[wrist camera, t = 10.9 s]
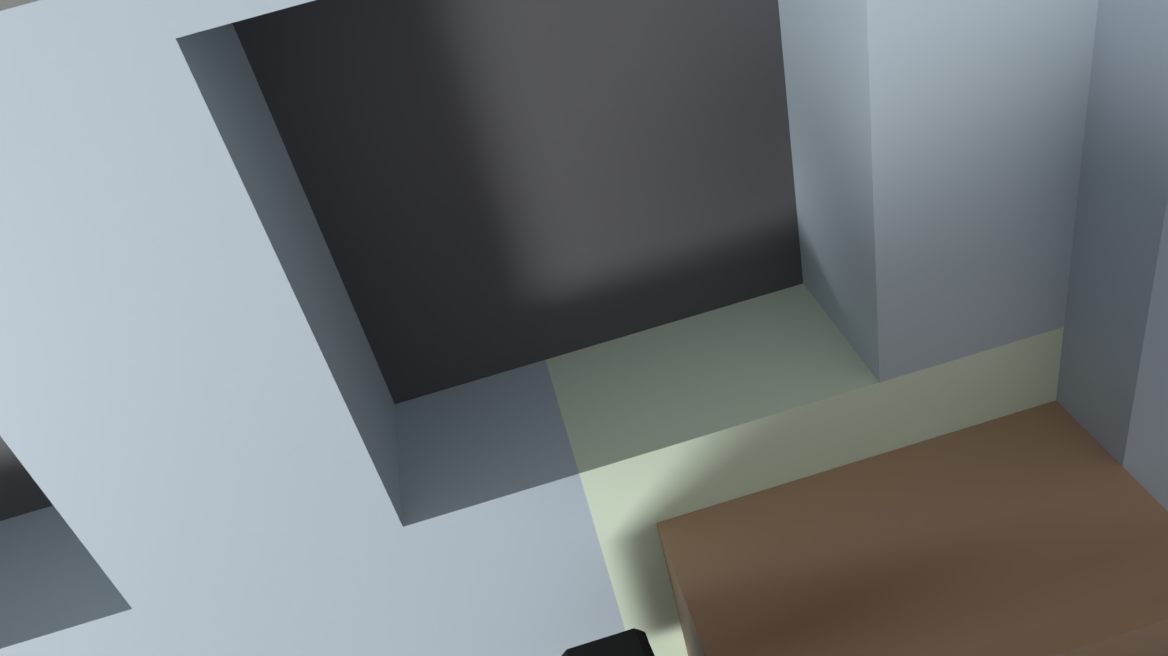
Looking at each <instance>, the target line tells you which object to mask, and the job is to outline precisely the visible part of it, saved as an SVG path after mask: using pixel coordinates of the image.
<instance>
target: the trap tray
mask: <svg viewBox="0 0 1168 656" xmlns="http://www.w3.org/2000/svg"><path fill="white" fill-rule="evenodd" d="M1055 400H1056V401H1057V402H1058V403H1059V404H1060V405H1061V406H1062V407H1063V408H1064V409H1065V410H1066V411H1067V412H1068V413H1069V414H1070V415H1071V416H1072V417H1073V418H1074V419H1075V420H1076V421H1077V422H1078V423H1079V424H1080V425H1081V426H1082V427H1083V428H1084V429H1085V430H1086V431H1087V432H1088V433H1089V434H1090V435H1091V436H1092V437H1093V438H1094V439H1095V440H1096V441H1097V442H1098V443H1099V444H1100V445H1101V446H1102V447H1103V448H1104V449H1105V450H1106V451H1107V452H1108V453H1109V454H1110V455H1111V456H1113V457H1114V458H1115V459H1116V460H1117V461H1118V462H1119V463H1120V464H1121V465H1122V466H1123V467H1124V468H1125V469H1126V470H1127V471H1128V472H1129V473H1130V474H1131V475H1132V476H1133V477H1134V478H1135V479H1136V480H1137V481H1138V482H1139V483H1140V484H1141V485H1142V486H1143V487H1144V488H1145V489H1146V490H1147V491H1148V492H1149V493H1150V494H1151V495H1152V496H1153V497H1154V498H1155V499H1156V500H1157V501H1158V502H1159V503H1160V504H1161V505H1162V506H1163V507H1164V508H1165V509H1166V510H1167V511H1168V0H0V656H562V654H563V653H564V652H565V651H566V649H569V648H572V647H576V646H579V645H582V644H585V643H588V642H592V641H595V640H598V639H601V638H604V637H608V636H611V635H614V634H617V633H620V632H623V631H627V630H630V629H633V628H635V629H638V630H641V631H644V632H645V633H646V635H647V638H648V641H649V644H650V646H651V648H652V651H653V653H654V655H655V656H688V654H687V650H686V645H685V641H684V637H683V633H682V629H681V624H680V620H679V616H678V612H677V608H676V603H675V599H674V595H673V591H672V587H671V582H670V578H669V574H668V570H667V566H666V562H665V557H664V553H663V549H662V545H661V541H660V536H659V532H658V528H657V524H656V523H658V522H661V521H665V520H668V519H671V518H675V517H678V516H681V515H684V514H688V513H691V512H694V511H697V510H701V509H704V508H707V507H710V506H714V505H717V504H720V503H723V502H727V501H730V500H733V499H736V498H740V497H743V496H746V495H749V494H753V493H756V492H759V491H762V490H766V489H769V488H772V487H775V486H779V485H782V484H785V483H788V482H792V481H795V480H798V479H801V478H805V477H808V476H811V475H815V474H818V473H821V472H824V471H828V470H831V469H834V468H837V467H841V466H844V465H847V464H850V463H854V462H857V461H860V460H863V459H867V458H870V457H873V456H876V455H880V454H883V453H886V452H889V451H893V450H896V449H899V448H902V447H906V446H909V445H912V444H915V443H919V442H922V441H925V440H928V439H932V438H935V437H938V436H941V435H945V434H948V433H951V432H955V431H958V430H961V429H964V428H968V427H971V426H974V425H977V424H981V423H984V422H987V421H990V420H994V419H997V418H1000V417H1003V416H1007V415H1010V414H1013V413H1016V412H1020V411H1023V410H1026V409H1029V408H1033V407H1036V406H1039V405H1042V404H1046V403H1049V402H1052V401H1055Z"/></svg>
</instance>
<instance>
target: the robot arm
mask: <svg viewBox="0 0 1168 656" xmlns="http://www.w3.org/2000/svg"><path fill="white" fill-rule="evenodd" d="M562 656H655V655H654V653H653V651H652V648H651V646H650V644H649V641H648V638H647V635H646V633H645V632H644V631H641V630H638V629H635V628H633V629H630V630H627V631H623V632H620V633H617V634H614V635H611V636H608V637H604V638H601V639H598V640H595V641H592V642H588V643H585V644H582V645H579V646H576V647H572V648H569V649H566V651H565V652H564V653H563V654H562Z"/></svg>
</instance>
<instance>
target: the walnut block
mask: <svg viewBox="0 0 1168 656" xmlns="http://www.w3.org/2000/svg"><path fill="white" fill-rule="evenodd" d="M656 524H657V528H658V532H659V536H660V541H661V545H662V549H663V553H664V557H665V562H666V566H667V570H668V574H669V578H670V582H671V587H672V591H673V595H674V599H675V603H676V608H677V612H678V616H679V620H680V624H681V629H682V633H683V637H684V641H685V645H686V650H687V654H688V656H1168V511H1167V510H1166V509H1165V508H1164V507H1163V506H1162V505H1161V504H1160V503H1159V502H1158V501H1157V500H1156V499H1155V498H1154V497H1153V496H1152V495H1151V494H1150V493H1149V492H1148V491H1147V490H1146V489H1145V488H1144V487H1143V486H1142V485H1141V484H1140V483H1139V482H1138V481H1137V480H1136V479H1135V478H1134V477H1133V476H1132V475H1131V474H1130V473H1129V472H1128V471H1127V470H1126V469H1125V468H1124V467H1123V466H1122V465H1121V464H1120V463H1119V462H1118V461H1117V460H1116V459H1115V458H1114V457H1113V456H1111V455H1110V454H1109V453H1108V452H1107V451H1106V450H1105V449H1104V448H1103V447H1102V446H1101V445H1100V444H1099V443H1098V442H1097V441H1096V440H1095V439H1094V438H1093V437H1092V436H1091V435H1090V434H1089V433H1088V432H1087V431H1086V430H1085V429H1084V428H1083V427H1082V426H1081V425H1080V424H1079V423H1078V422H1077V421H1076V420H1075V419H1074V418H1073V417H1072V416H1071V415H1070V414H1069V413H1068V412H1067V411H1066V410H1065V409H1064V408H1063V407H1062V406H1061V405H1060V404H1059V403H1058V402H1057V401H1056V400H1055V401H1052V402H1049V403H1046V404H1042V405H1039V406H1036V407H1033V408H1029V409H1026V410H1023V411H1020V412H1016V413H1013V414H1010V415H1007V416H1003V417H1000V418H997V419H994V420H990V421H987V422H984V423H981V424H977V425H974V426H971V427H968V428H964V429H961V430H958V431H955V432H951V433H948V434H945V435H941V436H938V437H935V438H932V439H928V440H925V441H922V442H919V443H915V444H912V445H909V446H906V447H902V448H899V449H896V450H893V451H889V452H886V453H883V454H880V455H876V456H873V457H870V458H867V459H863V460H860V461H857V462H854V463H850V464H847V465H844V466H841V467H837V468H834V469H831V470H828V471H824V472H821V473H818V474H815V475H811V476H808V477H805V478H801V479H798V480H795V481H792V482H788V483H785V484H782V485H779V486H775V487H772V488H769V489H766V490H762V491H759V492H756V493H753V494H749V495H746V496H743V497H740V498H736V499H733V500H730V501H727V502H723V503H720V504H717V505H714V506H710V507H707V508H704V509H701V510H697V511H694V512H691V513H688V514H684V515H681V516H678V517H675V518H671V519H668V520H665V521H661V522H658V523H656Z"/></svg>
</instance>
